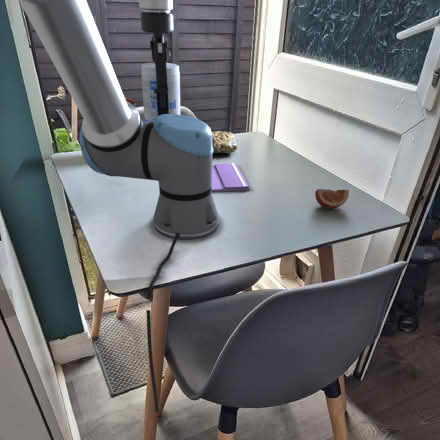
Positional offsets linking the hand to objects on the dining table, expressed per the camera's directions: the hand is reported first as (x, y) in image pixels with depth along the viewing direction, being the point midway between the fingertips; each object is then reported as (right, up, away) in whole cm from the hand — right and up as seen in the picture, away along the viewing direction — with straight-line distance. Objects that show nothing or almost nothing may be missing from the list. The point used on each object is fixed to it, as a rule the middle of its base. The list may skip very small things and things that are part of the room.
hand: (162, 115), depth 103 cm
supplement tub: (0, -3, +2) cm, 3 cm away
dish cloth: (+16, -13, +11) cm, 23 cm away
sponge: (+11, -1, +28) cm, 30 cm away
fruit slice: (+44, -25, -1) cm, 51 cm away
